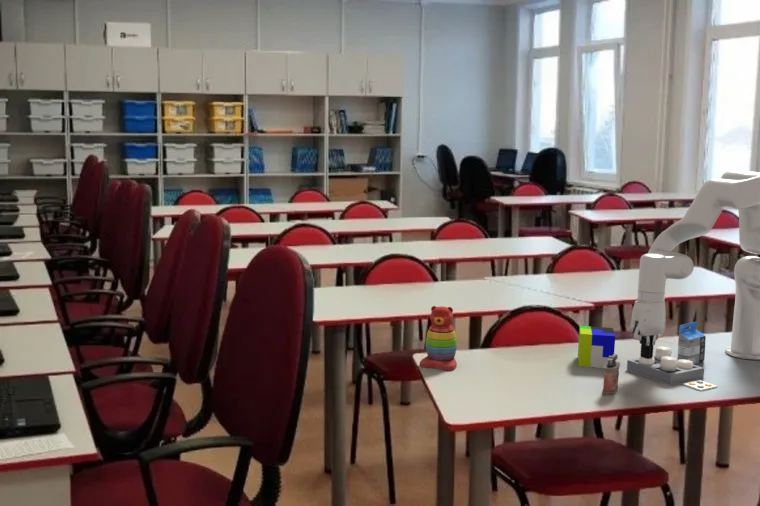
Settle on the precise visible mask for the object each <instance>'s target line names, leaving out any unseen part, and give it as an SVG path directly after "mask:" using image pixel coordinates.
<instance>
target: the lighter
mask: <svg viewBox="0 0 760 506" xmlns="http://www.w3.org/2000/svg"><path fill="white" fill-rule="evenodd" d="M618 357H619V355H618V353H614V354H613V355H612V356H609V358H608V360H607V364H605V365H604V368H603V371H604V372H603V373H604V374H603V385H602V386H603V387H602V391H601V394H602V396H607V397H608V396H610V397H611V396H613V395H615V394H616V392H617V393H618V391H619V377H620V376H619V375H620V366H621V362H620V361H617V360H618Z"/></svg>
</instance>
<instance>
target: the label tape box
mask: <svg viewBox="0 0 760 506" xmlns="http://www.w3.org/2000/svg"><path fill="white" fill-rule="evenodd" d="M697 324H698V321H693V322H688V323H684V324H680V325H679V329H678V343H677V344H678V346H677V359H678V360H679V359H685V360H690V361H692V362H693V365H698V364H701V363H704V362H705V357H706V355H705V353H706V334H705V335H704V334H703V332H701V331H699V330H698V329H697ZM688 327H689V328H688Z"/></svg>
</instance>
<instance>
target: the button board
mask: <svg viewBox="0 0 760 506" xmlns="http://www.w3.org/2000/svg"><path fill="white" fill-rule="evenodd" d="M653 357H654V364H652V365H644V364H641V363H638V362H639V357H636V358H632V359H627V364H626V371H629V372H632V373H635V374H638V375H641V376H643V377H646V378H649V379H651V380H654V381H657V382H660V383H662V384H666V385H668V386H673V385H677V384H683V383H688V382H693V381H697V380H702V379H704V376H705V368H704V367H703V366H700V365H697V364H695V365H693V368H692V369H687V370H685V369H682V368H679V367H677V366H676V370H675V371H666V370H662V369H660V361H661V360H659V359H656V358H655V354H653ZM676 359H677V360H678V358H676ZM701 378H702V379H701Z"/></svg>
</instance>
